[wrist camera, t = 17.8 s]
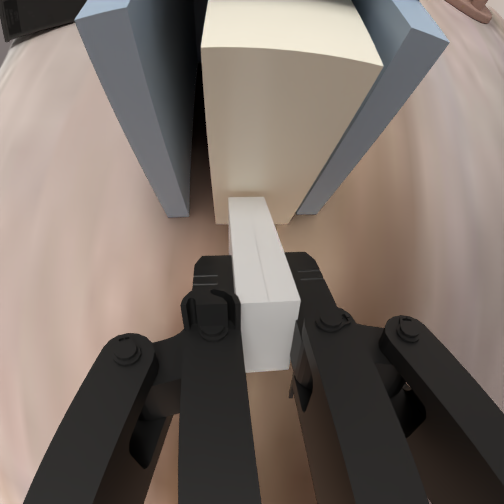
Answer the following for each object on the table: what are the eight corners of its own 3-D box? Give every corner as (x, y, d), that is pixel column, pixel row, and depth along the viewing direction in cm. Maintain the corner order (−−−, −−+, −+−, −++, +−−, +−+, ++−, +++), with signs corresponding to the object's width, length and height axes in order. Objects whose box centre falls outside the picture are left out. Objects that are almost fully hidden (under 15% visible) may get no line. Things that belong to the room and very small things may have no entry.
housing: (316, 214, 17) (477, 3, 3) (168, 217, 17) (55, -32, 2) (290, 53, 20) (330, -103, 6) (183, 52, 20) (171, -110, 5)
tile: (287, 224, 17) (384, 66, 5) (215, 224, 17) (200, 47, 5) (274, 64, 20) (302, -72, 8) (221, 62, 20) (225, -78, 8)
